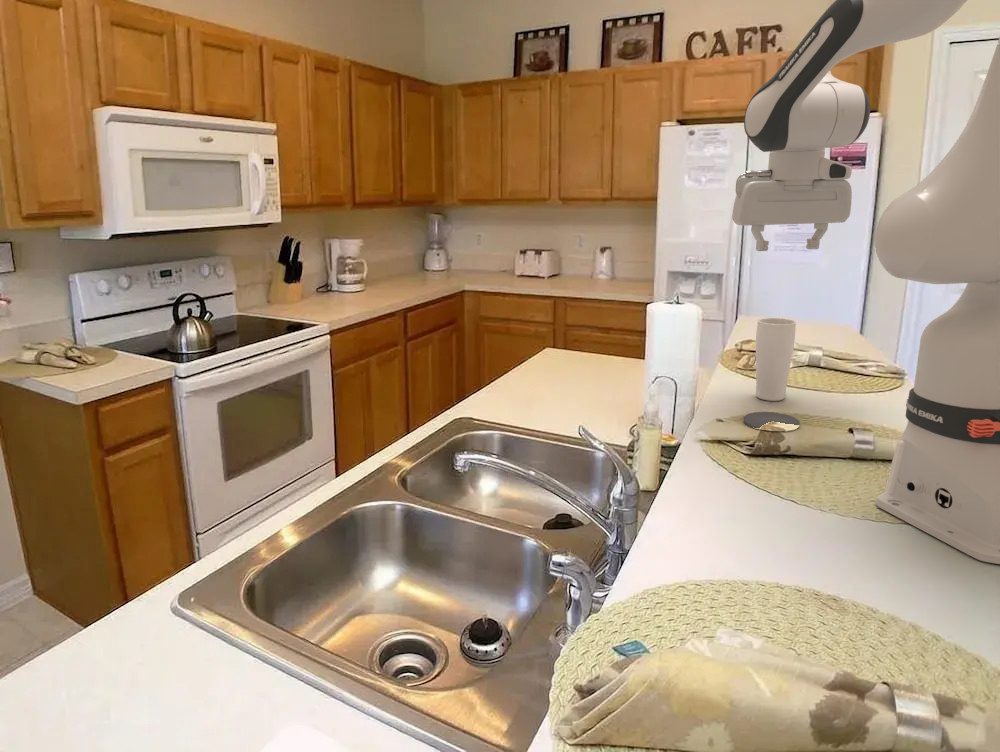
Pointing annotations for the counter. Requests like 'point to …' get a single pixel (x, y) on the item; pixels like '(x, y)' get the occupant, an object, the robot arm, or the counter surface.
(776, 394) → the drinking glass
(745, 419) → the coaster
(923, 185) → the robot arm
